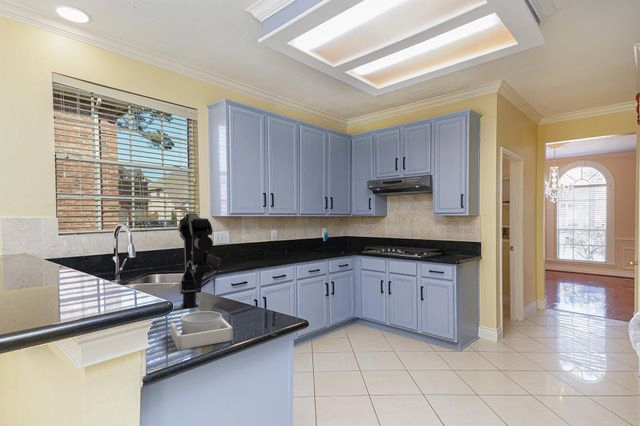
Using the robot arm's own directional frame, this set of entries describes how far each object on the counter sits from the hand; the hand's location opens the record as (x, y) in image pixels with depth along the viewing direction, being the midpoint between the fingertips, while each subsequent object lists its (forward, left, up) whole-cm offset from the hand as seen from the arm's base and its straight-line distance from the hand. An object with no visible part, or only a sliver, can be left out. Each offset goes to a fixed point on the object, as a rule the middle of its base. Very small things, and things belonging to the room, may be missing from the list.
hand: (198, 287), depth 135 cm
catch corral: (+25, -4, -12) cm, 28 cm away
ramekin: (+24, -4, -12) cm, 27 cm away
